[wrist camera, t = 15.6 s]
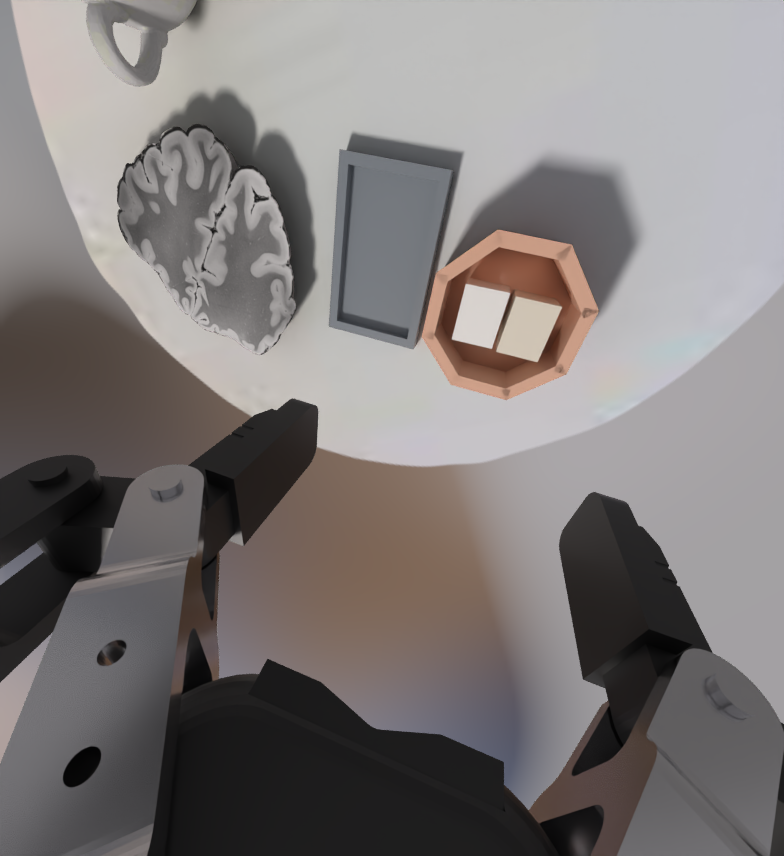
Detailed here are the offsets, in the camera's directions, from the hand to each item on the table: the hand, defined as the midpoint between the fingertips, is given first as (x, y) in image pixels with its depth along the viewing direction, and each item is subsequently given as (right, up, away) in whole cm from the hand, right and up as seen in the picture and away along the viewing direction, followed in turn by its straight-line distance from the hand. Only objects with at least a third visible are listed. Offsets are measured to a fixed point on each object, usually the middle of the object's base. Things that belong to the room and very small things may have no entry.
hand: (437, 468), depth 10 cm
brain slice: (-18, +20, +24) cm, 36 cm away
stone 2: (+10, +11, +19) cm, 24 cm away
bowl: (+9, +12, +19) cm, 24 cm away
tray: (-2, +17, +20) cm, 26 cm away
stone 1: (+7, +12, +19) cm, 24 cm away
